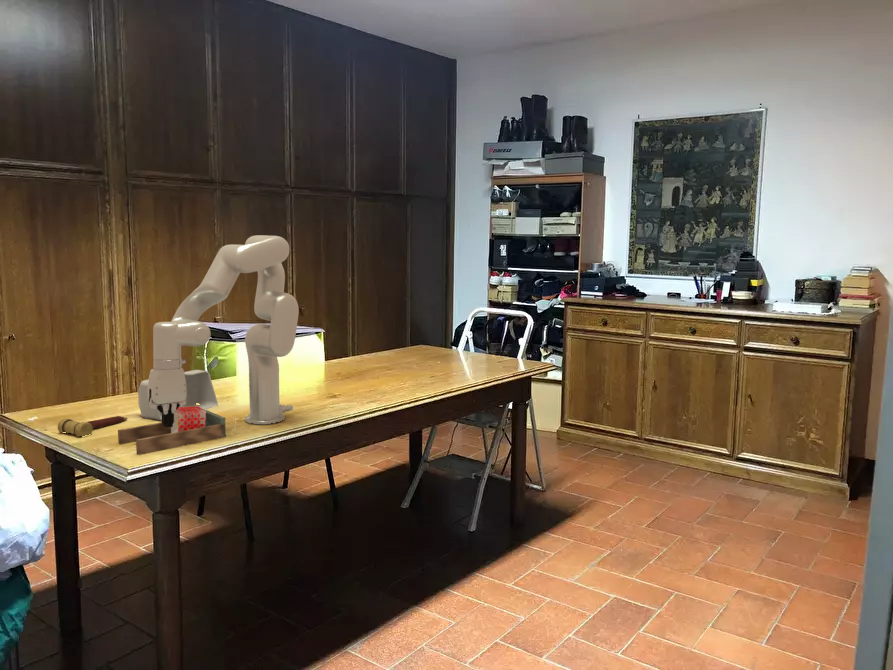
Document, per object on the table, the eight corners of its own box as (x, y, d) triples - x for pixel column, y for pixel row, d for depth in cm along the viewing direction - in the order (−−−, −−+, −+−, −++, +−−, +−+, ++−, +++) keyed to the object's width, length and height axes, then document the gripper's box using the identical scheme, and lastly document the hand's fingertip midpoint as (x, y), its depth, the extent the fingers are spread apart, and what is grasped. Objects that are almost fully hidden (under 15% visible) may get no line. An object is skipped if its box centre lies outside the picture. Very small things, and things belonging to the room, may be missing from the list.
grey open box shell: (186, 400, 262) (185, 367, 260) (218, 406, 254) (217, 371, 252) (127, 415, 240) (125, 378, 238) (161, 422, 232) (159, 384, 231)
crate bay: (203, 427, 226) (202, 408, 226) (225, 437, 216) (225, 417, 215) (118, 443, 208) (117, 423, 208) (138, 454, 198) (137, 433, 197)
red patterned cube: (170, 433, 218) (171, 407, 217) (197, 431, 222) (198, 406, 221) (177, 439, 211) (178, 413, 210) (205, 437, 216) (206, 411, 215)
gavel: (116, 409, 236) (138, 413, 231) (116, 423, 236) (137, 427, 232) (57, 419, 217) (79, 424, 212) (57, 434, 217) (79, 439, 213)
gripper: (186, 360, 216) (186, 420, 219) (136, 364, 206) (136, 427, 208) (198, 364, 211) (198, 425, 213) (146, 368, 201) (147, 432, 203)
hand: (167, 426), depth 211 cm, fingers closed
